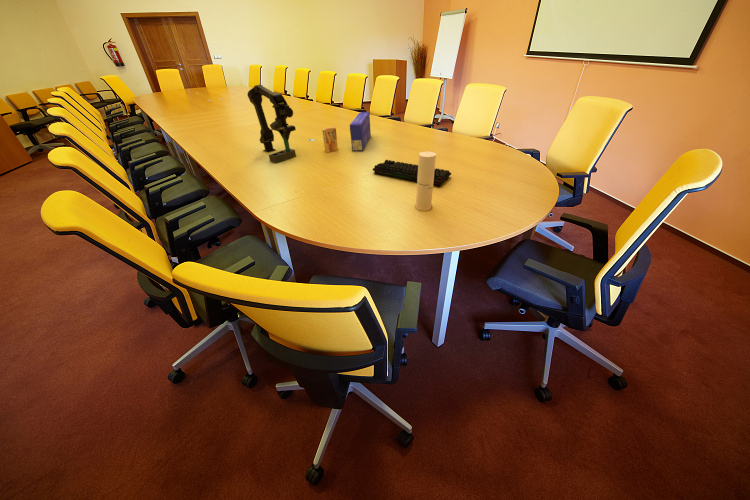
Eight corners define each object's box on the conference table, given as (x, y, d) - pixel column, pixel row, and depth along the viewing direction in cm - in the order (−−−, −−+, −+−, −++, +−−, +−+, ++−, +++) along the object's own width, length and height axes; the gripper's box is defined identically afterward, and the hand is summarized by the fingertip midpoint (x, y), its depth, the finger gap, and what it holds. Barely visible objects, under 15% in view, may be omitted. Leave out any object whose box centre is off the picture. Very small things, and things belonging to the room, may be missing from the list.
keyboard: (450, 177, 163) (452, 168, 160) (440, 188, 152) (441, 179, 149) (386, 165, 182) (386, 157, 179) (372, 174, 170) (372, 166, 168)
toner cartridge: (360, 136, 237) (359, 111, 226) (371, 136, 236) (370, 111, 225) (351, 151, 206) (349, 124, 195) (363, 151, 205) (361, 124, 194)
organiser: (270, 161, 194) (268, 155, 192) (290, 154, 205) (288, 148, 202) (276, 163, 191) (274, 156, 188) (296, 156, 202) (294, 149, 199)
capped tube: (284, 150, 198) (281, 134, 192) (288, 149, 200) (285, 133, 194) (287, 151, 197) (284, 135, 190) (291, 150, 199) (288, 134, 192)
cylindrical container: (414, 204, 139) (417, 152, 124) (429, 203, 139) (433, 151, 124) (417, 211, 133) (420, 157, 118) (432, 210, 133) (437, 156, 118)
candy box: (335, 148, 213) (332, 126, 204) (338, 149, 210) (335, 127, 201) (324, 151, 208) (321, 128, 199) (328, 152, 206) (325, 130, 197)
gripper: (261, 116, 185) (267, 141, 194) (279, 119, 176) (285, 145, 185) (275, 113, 192) (281, 137, 201) (293, 116, 183) (298, 141, 192)
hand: (285, 140), depth 195 cm, fingers closed on capped tube, 3 cm apart
